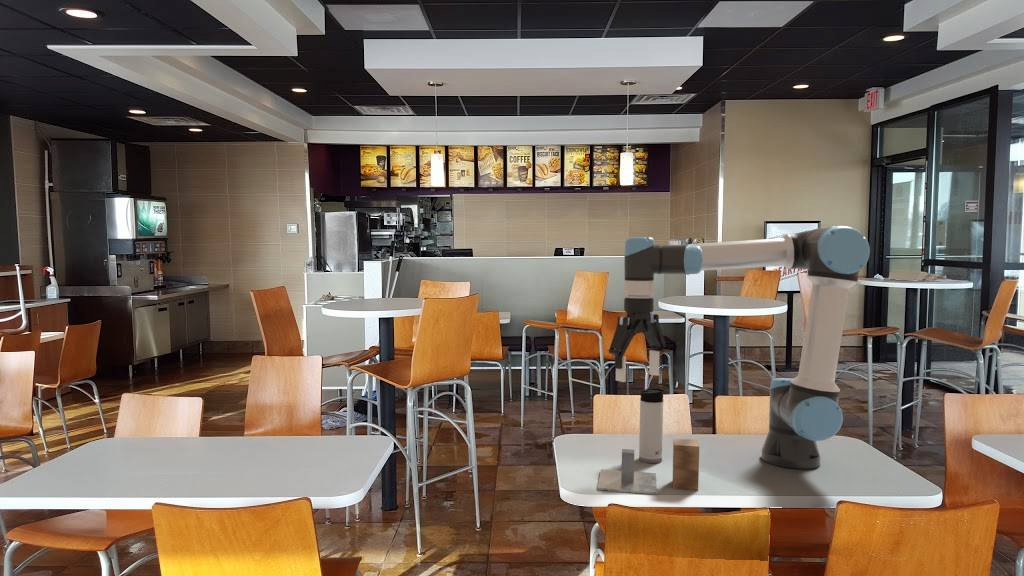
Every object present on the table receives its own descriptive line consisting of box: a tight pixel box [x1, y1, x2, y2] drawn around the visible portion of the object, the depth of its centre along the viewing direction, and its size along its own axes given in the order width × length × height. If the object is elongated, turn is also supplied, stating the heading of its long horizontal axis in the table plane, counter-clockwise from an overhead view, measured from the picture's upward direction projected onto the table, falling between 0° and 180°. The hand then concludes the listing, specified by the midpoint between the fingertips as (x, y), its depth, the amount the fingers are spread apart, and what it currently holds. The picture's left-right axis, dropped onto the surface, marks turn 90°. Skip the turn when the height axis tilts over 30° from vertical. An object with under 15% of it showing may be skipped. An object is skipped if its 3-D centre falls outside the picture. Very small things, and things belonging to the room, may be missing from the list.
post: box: [596, 448, 658, 495], centre depth 167 cm, size 14×14×8 cm
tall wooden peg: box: [672, 438, 700, 491], centre depth 165 cm, size 6×6×11 cm
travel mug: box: [638, 387, 666, 464], centre depth 185 cm, size 6×7×20 cm
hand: (637, 378), depth 175 cm, fingers open, 13 cm apart
